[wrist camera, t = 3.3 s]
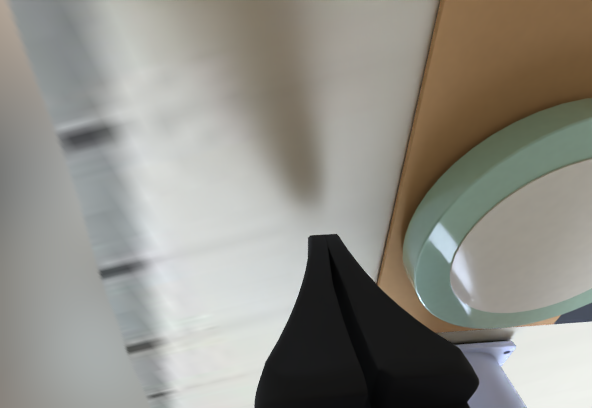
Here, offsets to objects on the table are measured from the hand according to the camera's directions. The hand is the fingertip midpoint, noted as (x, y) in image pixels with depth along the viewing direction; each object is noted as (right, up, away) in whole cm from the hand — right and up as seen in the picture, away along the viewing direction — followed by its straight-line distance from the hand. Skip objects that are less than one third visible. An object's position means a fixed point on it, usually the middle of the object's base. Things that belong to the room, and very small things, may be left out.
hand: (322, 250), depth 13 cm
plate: (+11, +1, +1) cm, 11 cm away
